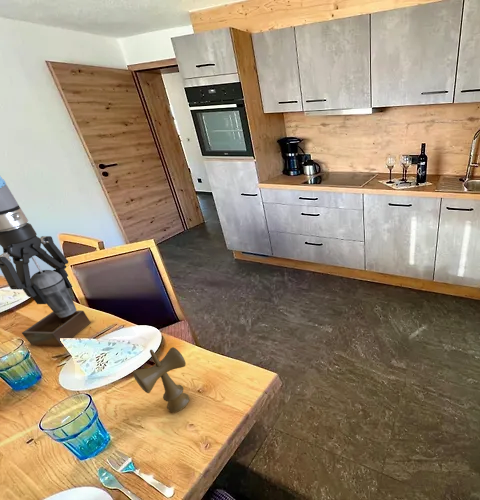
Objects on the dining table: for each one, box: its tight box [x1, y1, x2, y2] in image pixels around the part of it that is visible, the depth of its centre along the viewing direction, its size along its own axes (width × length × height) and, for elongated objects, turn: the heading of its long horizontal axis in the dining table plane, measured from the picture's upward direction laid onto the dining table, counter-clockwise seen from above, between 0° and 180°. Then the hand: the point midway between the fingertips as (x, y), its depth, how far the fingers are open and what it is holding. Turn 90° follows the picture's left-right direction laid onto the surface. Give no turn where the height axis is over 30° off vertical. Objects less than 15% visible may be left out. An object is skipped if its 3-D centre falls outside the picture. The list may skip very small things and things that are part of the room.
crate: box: [21, 310, 91, 347], centre depth 99 cm, size 11×11×6 cm
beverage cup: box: [30, 256, 77, 318], centre depth 87 cm, size 7×7×20 cm
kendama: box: [132, 346, 190, 413], centre depth 70 cm, size 6×10×20 cm, turn 145°
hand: (55, 295), depth 89 cm, fingers closed on beverage cup, 7 cm apart
